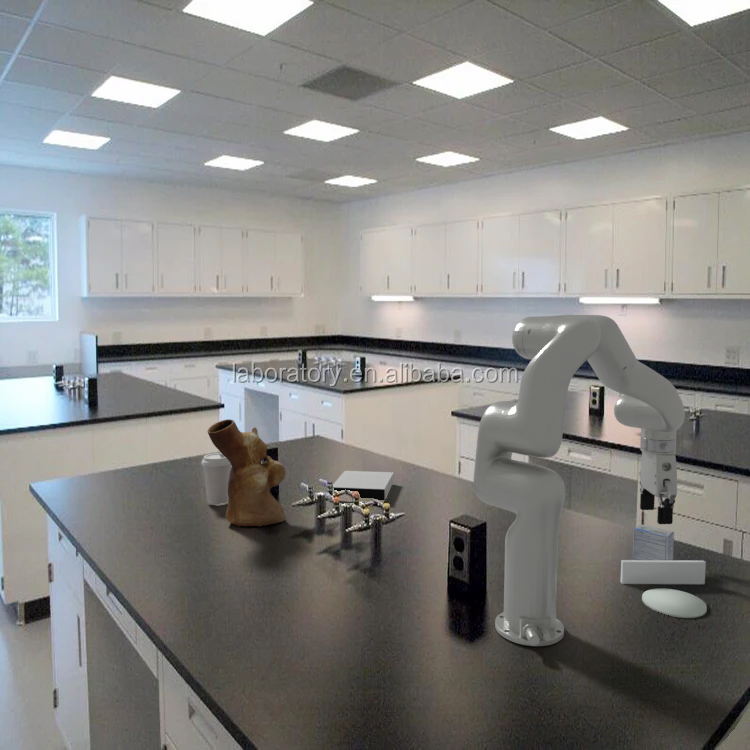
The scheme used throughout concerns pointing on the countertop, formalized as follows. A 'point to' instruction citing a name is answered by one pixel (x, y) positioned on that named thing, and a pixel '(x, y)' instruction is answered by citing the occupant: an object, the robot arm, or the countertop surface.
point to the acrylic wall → (663, 572)
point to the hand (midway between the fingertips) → (655, 516)
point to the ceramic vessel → (248, 476)
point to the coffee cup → (216, 477)
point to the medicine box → (652, 543)
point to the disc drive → (366, 483)
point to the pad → (674, 603)
